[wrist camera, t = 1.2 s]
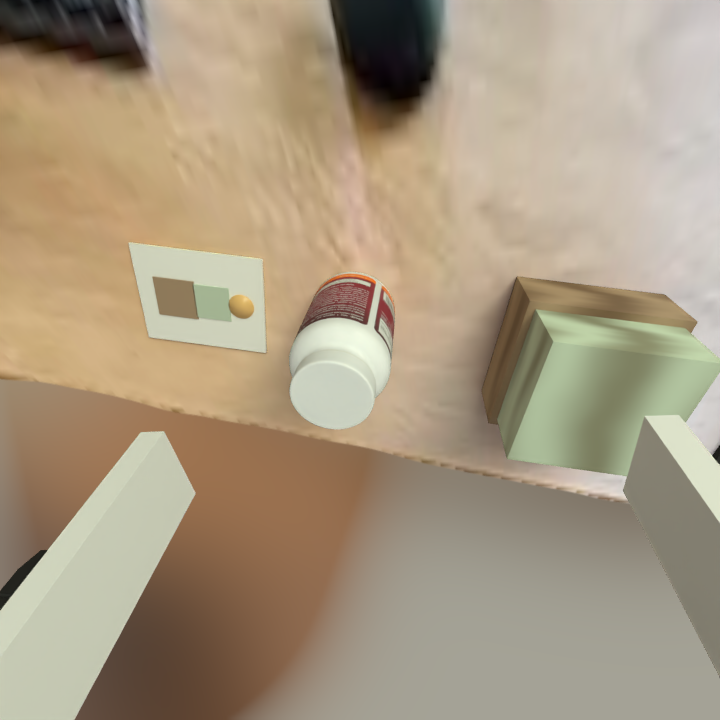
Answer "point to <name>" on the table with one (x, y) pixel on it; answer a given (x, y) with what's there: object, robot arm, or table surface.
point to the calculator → (717, 455)
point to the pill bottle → (343, 351)
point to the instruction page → (201, 296)
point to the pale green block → (590, 372)
